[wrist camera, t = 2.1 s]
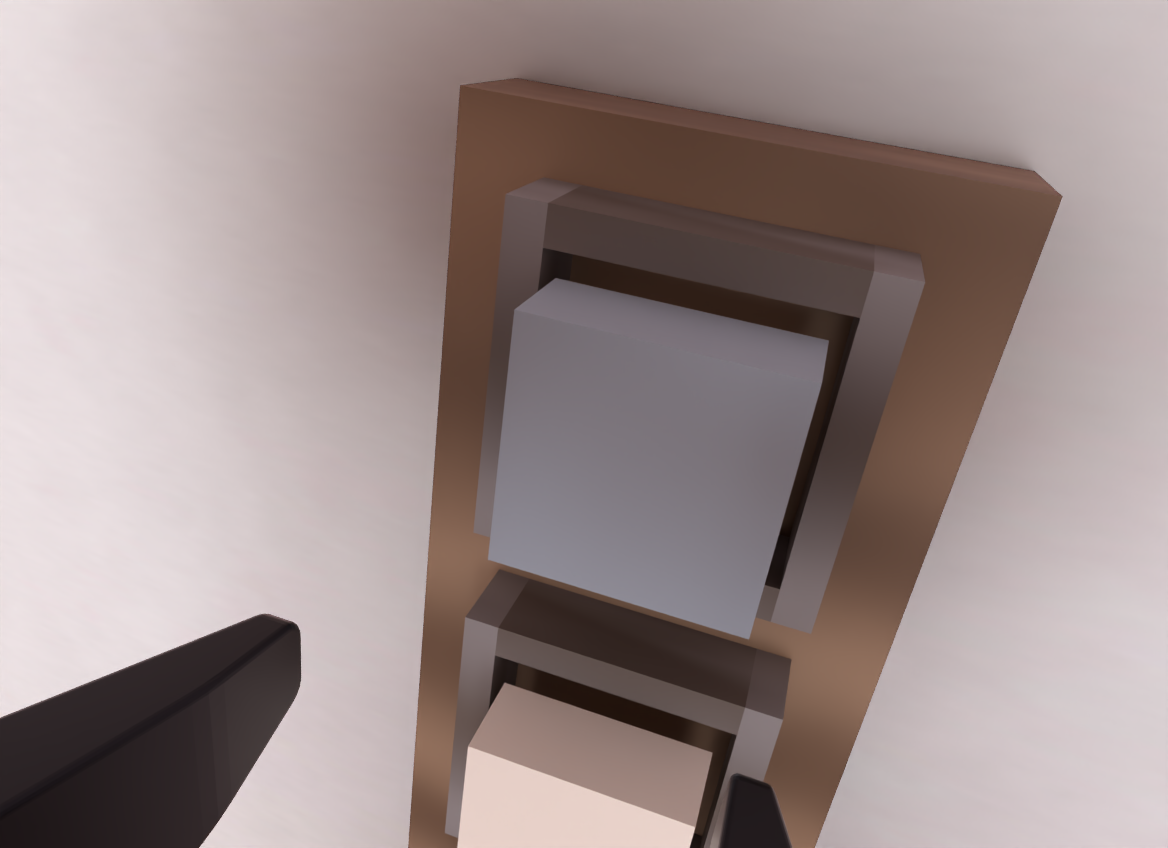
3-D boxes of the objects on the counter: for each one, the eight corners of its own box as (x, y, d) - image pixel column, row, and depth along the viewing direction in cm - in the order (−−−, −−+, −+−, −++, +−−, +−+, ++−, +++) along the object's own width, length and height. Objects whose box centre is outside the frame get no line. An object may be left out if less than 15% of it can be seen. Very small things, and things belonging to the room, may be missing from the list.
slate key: (762, 575, 16) (749, 639, 15) (526, 507, 17) (487, 559, 16) (829, 340, 14) (822, 383, 13) (555, 277, 15) (514, 309, 14)
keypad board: (727, 1020, 30) (701, 1187, 26) (438, 904, 32) (369, 1040, 28) (1035, 171, 17) (1087, 218, 13) (516, 77, 19) (411, 91, 15)
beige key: (672, 897, 21) (652, 976, 19) (486, 826, 22) (452, 896, 20) (712, 752, 19) (695, 827, 17) (504, 682, 20) (468, 746, 18)
